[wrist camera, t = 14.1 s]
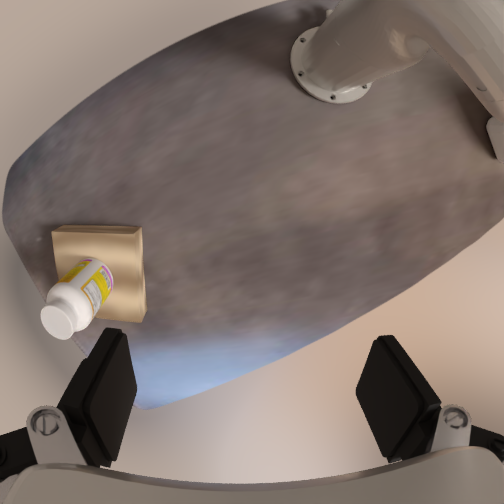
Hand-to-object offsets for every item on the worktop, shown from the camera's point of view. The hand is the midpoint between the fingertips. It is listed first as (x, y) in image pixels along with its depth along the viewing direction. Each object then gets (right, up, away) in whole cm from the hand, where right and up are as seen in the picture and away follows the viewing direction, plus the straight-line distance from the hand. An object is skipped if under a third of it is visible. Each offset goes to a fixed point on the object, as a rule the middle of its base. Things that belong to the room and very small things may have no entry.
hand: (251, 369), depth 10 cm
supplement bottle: (-23, +1, +30) cm, 38 cm away
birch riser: (-24, +2, +33) cm, 41 cm away
